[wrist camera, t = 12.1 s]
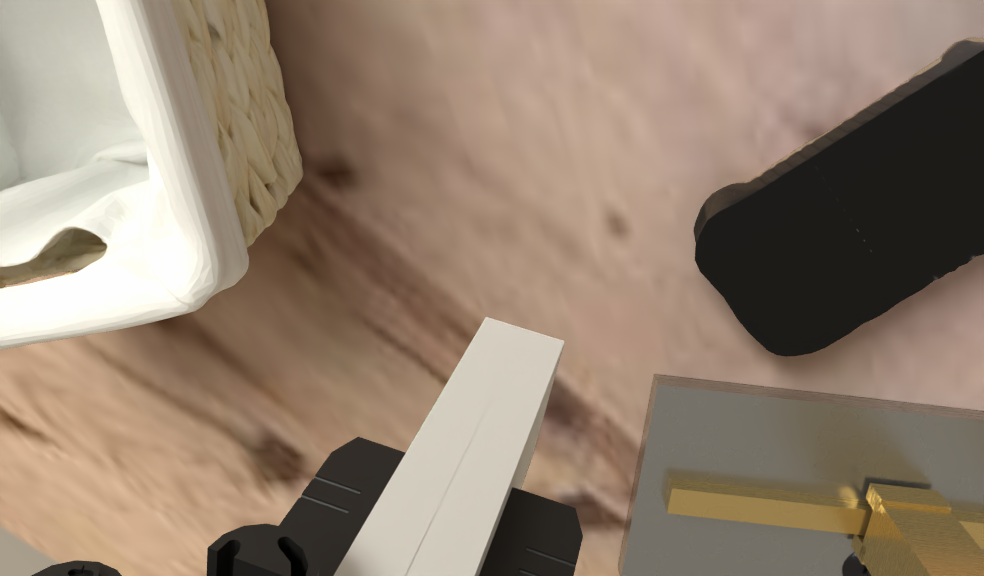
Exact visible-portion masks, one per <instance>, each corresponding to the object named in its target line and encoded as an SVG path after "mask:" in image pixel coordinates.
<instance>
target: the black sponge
mask: <svg viewBox="0 0 984 576" xmlns="http://www.w3.org/2000/svg"><path fill="white" fill-rule="evenodd" d="M694 235H695V241H696V250H695V261H696V263H697V265H698V268H699V270H700V272H701V273H702V274H703V275H704V276H705V277H706V278H707V279H708V280H709V282H710V283H711V284H712V285H713V286H714V287H715V288H716V289H717V290H718V291H719V292H720V294H721V295H722V296H723V297H724V298H725V300H726V302H727V303H728V305H729V306H730V308H731V309H732V311H733V312H734V314H735V316H736V317H737V319H738V320H739V322H740V323H741V324H742V325H743V326H744V327H745V329H746V330H747V331H748V332H749V333H750V334H751V335H752V336H753V337H754V338H755V339H756V340H757V341H758V342H759V343H760V344H761V345H763V346H764V347H765V348H766V349H767V350H768V351H770V352H772V353H774V354H776V355H780V356H798V355H803V354H809V353H813V352H815V351H818V350H820V349H823V348H825V347H827V346H829V345H830V344H832V343H834V342H836V341H837V340H839V339H841V338H842V337H844V336H846V335H847V334H849V333H851V332H852V331H853V330H855V329H856V328H857V327H859V326H860V325H862V324H863V323H865V322H868V321H870V320H872V319H874V318H876V317H878V316H880V315H881V314H883V313H885V312H886V311H888V310H889V309H890V308H892V307H893V306H895V305H896V304H898V303H899V302H901V301H902V300H904V299H906V298H907V297H909V296H911V295H913V294H915V293H916V292H918V291H920V290H922V289H923V288H925V287H926V286H927V285H929V284H930V283H931V282H933V281H934V280H937V279H939V278H941V277H943V276H944V275H945V274H947V273H949V272H952V271H955V270H956V269H957V268H958V267H959V266H961V265H964V264H967V263H968V262H969V261H970V260H972V259H973V258H974V257H976V256H979V255H983V254H984V39H983V38H967V39H965V40H962V41H960V42H956V43H954V44H953V45H952V46H950V47H949V49H948V50H947V51H946V52H945V53H944V54H943V55H942V56H941V57H940V58H939V59H937V60H936V61H934V62H933V63H931V64H930V65H928V66H927V67H925V68H924V69H922V70H921V71H920V72H918V73H917V74H915V75H914V76H913V77H912V78H911V79H909V80H907V81H906V82H904V83H903V84H901V85H900V86H898V87H897V88H895V89H894V90H892V91H890V92H889V93H888V94H886V95H885V96H883V97H881V98H879V99H878V100H877V101H875V102H874V103H872V104H870V105H868V106H867V107H865V108H864V109H862V110H861V111H859V112H857V113H856V114H854V115H853V116H851V117H849V118H848V119H846V120H844V121H843V122H841V123H840V124H838V125H837V126H836V127H834V128H832V129H830V130H829V131H827V132H826V133H825V134H823V135H820V136H819V137H817V138H816V139H814V140H812V141H809V142H807V143H805V144H804V146H802V147H800V148H798V149H796V150H794V151H793V152H791V153H790V154H789V155H787V156H786V157H784V158H782V159H781V160H779V161H778V162H776V163H775V164H773V165H772V166H771V167H770V168H769V169H767V170H766V171H764V172H763V173H761V174H760V175H759V176H757V177H755V178H753V179H751V180H749V181H745V182H741V183H736V184H731V185H729V186H726V187H724V188H722V189H720V190H718V191H717V192H715V193H713V194H712V195H711V196H710V197H709V198H708V199H707V200H706V201H705V203H704V204H703V206H702V208H701V209H700V212H699V215H698V217H697V220H696V222H695V226H694Z"/></svg>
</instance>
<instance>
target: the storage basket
mask: <svg viewBox="0 0 984 576" xmlns="http://www.w3.org/2000/svg"><path fill="white" fill-rule="evenodd" d="M299 152H300V151H299V149H298V145H297V142H296V138H295V135H294V131H293V120H292V116H291V111H290V108H289V106H288V104H287V102H286V100H285V93H284V86H283V79H282V74H281V69H280V65H279V63H278V60H277V58H276V55H275V53H274V50H273V48H272V46H271V45H270V28H269V21H268V15H267V9H266V5H265V1H264V0H0V350H2V349H8V348H14V347H19V346H24V345H29V344H34V343H41V342H49V341H55V340H61V339H67V338H73V337H79V336H85V335H91V334H97V333H103V332H110V331H114V330H119V329H124V328H129V327H134V326H138V325H143V324H147V323H151V322H155V321H159V320H163V319H167V318H171V317H175V316H179V315H183V314H187V313H190V312H193V311H196V310H198V309H199V308H201V307H202V306H203V305H204V304H205V303H206V302H207V301H208V300H209V299H210V298H211V297H212V296H213V295H215V294H217V293H219V292H220V291H222V290H225V289H227V288H229V287H232V286H234V285H235V284H236V283H237V282H238V281H239V280H240V279H241V278H242V277H243V276H244V275H245V273H246V272H247V270H248V267H249V256H248V252H247V248H248V247H249V246H250V245H252V244H253V243H254V242H255V239H256V238H257V237H258V236H259V235H260V234H261V233H262V232H263V231H264V229H265V228H267V227H269V226H270V225H271V224H272V223H273V222H274V220H275V218H276V215H277V210H279V209H281V208H283V207H284V205H285V204H286V202H287V200H288V195H290V194H291V193H292V192H293V191H294V190H295V187H296V186H297V185H298V183H299V182H300V181H301V179H302V177H303V169H302V158H301V155H300V153H299ZM80 269H82V270H80ZM73 270H80V271H78V272H76V273H74V272H70V271H73ZM60 272H70V273H67V274H65V275H63V276H59V277H54V278H51V279H47V280H41V281H38V282H34V283H31V284H24V285H20V286H13V287H6V288H4V287H5V285H11V284H17V283H21V282H25V281H28V280H30V279H33V278H36V277H39V276H47V275H52V274H56V273H60Z"/></svg>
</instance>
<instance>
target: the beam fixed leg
mask: <svg viewBox="0 0 984 576" xmlns="http://www.w3.org/2000/svg"><path fill="white" fill-rule="evenodd" d="M664 504H665V508H666V511H667V513H669V514H678V515H687V516H696V517H705V518H714V519H722V520H731V521H740V522H749V523H758V524H767V525H776V526H785V527H793V528H802V529H811V530H820V531H829V532H838V533H847V534H855V535H864V536H865V534H866V530H867V527H868V524H869V521H870V517H871V514H872V511H873V508H872V507H871V505H870V504H869V502H868V501H867V500H862V499H853V498H844V497H836V496H827V495H818V494H809V493H800V492H791V491H782V490H773V489H765V488H756V487H747V486H738V485H729V484H720V483H711V482H702V481H693V480H685V479H676V478H669V480H668V485H667V490H666V495H665V500H664ZM951 512H952V513H953V515H954V516H955V517H956V518H957V520H958V521H959V522H960V523H961V524H962V526H963V527H964V528H965V529H966V531H967V532H968V533H969V534H970V536H971V537H972V538H973V539H974V540H975V542H976V543H977V544H978V545H979V547H980V548H981V549H984V513H978V512H969V511H960V510H951Z"/></svg>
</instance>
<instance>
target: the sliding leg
mask: <svg viewBox="0 0 984 576" xmlns="http://www.w3.org/2000/svg"><path fill="white" fill-rule="evenodd" d="M866 499H867V501H868V502H869V504H870V505H871V507H872V508H873V511H872V514H871V517H870V521H869V524H868V527H867V530H866V534H865V536H864V535H855V534H854V537H853V541H852V544H851V547H852V549H853V550H854V552H855V554H856V555H857V557H858V559H859V561H860V562H861V564H863V565H865V566H866V568H867V569H868V571H867V574H866V576H984V551H983V550H982V549H981V548H980V547H979V545H978V544H977V543H976V542H975V540H974V539H973V538H972V537H971V536H970V534H969V533H968V532H967V531H966V529H965V528H964V527H963V526H962V524H961V523H960V522H959V521H958V520H957V518H956V517H955V516H954V515H953V513H952V512H951V509H952V507H951V506H950V505H949V504H948V503H947V501H946V500H945V499H944V498H943V496H942V495H941V494H940V493H939V492H938V491H937V490H928V489H919V488H910V487H901V486H892V485H883V484H874V483H870V484H869V488H868V491H867V494H866Z"/></svg>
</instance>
